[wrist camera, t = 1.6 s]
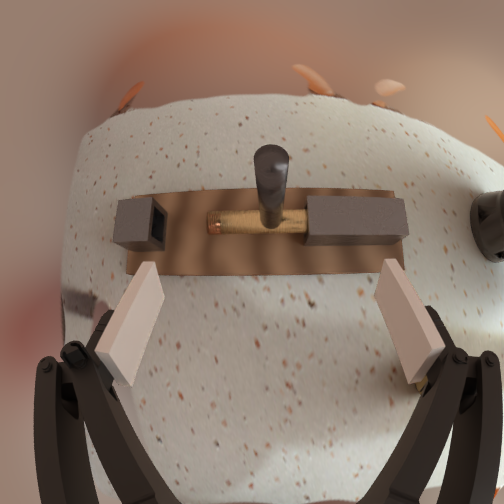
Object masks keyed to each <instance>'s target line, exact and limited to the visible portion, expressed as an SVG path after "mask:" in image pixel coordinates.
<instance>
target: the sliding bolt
mask: <svg viewBox="0 0 504 504" xmlns="http://www.w3.org/2000/svg"><path fill="white" fill-rule="evenodd" d="M288 164H289V156H288V153H287V152H286V151H285V150H284V149H283V148H282V147H280V146H278V145H265V146H262V147H261V148H259V149H258V150H257V151H256V153H255V155H254V166H255V175H256V184H257V193H258V203H259V210H237V211H208V212H207V217H206V228H207V233H208V235H222V234H277V233H308V231H309V230H308V214H307V209H295V210H283V207H284V199H285V190H286V182H287V173H288Z"/></svg>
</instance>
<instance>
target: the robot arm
mask: <svg viewBox="0 0 504 504" xmlns="http://www.w3.org/2000/svg"><path fill="white" fill-rule="evenodd" d="M470 218H471V227H472V231H473V235H474V238H475V241H476V243H477V245H478V247H479V249H480V250H481V252H482V253H483V254H484V256H485V257H486V258H488V259H489V260H490V261H492V262H501V261H504V190H503V191H495V192H487V193H484V194H482V195H480V196H479V197H477V198H476V199H475V200H474V202H473V204H472V207H471V215H470ZM374 296H375V299H376V301H377V303H378V306H379V308H380V310H381V313H382V315H383V318H384V320H385V322H386V325H387V327H388V330H389V332H390V335H391V338H392V340H393V343H394V345H395V348H396V351H397V353H398V356H399V359H400V362H401V365H402V367H403V370H404V373H405V376H406V379H407V382H408V384H412V383H416V382H420V381H421V380H422V379H423V378H424V376H425V375H426V376H427V379H428V381H427V382H426V383H425V385H424V386H423V387H422V388H421V390H420V391H419V392H422V394H421V396H420V398H419V401H418V403H417V405H416V408H415V410H414V412H413V414H412V416H411V418H410V420H409V423H408V425H407V427H406V429H405V431H404V432H403V434H402V436H401V438H400V440H399V442H398V444H397V446H396V447H395V449H394V451H393V453H392V454H391V456H390V458H389V459H388V461H387V463H386V464H385V466H384V468H383V469H382V471H381V472H380V474H379V475H378V477H377V479H376V480H375V481H374V483H373V484H372V486H371V487H370V489H369V490H368V492H367V493H366V494H365V496H364V497H363V498H362V499H361V500H360V501H358V502H357V503H356V504H420V503H419V498H420V496H421V494H422V492H423V491H424V489H425V487H426V485H427V483H428V481H429V479H430V477H431V475H432V473H433V471H434V469H435V467H436V465H437V463H438V460H439V458H440V456H441V453H442V451H443V449H444V446H445V444H446V441H447V439H448V436H449V433H450V431H451V428H452V425H453V431H452V438H451V444H450V450H449V456H448V461H447V466H446V470H445V475H444V479H443V483H442V486H441V490H440V494H439V497H438V500H437V504H492V502H493V498H494V494H495V489H496V484H497V478H498V472H499V465H500V456H501V445H502V427H503V402H502V383H501V371H500V362H499V359H498V357H497V355H496V354H495V353H493V352H492V351H484V352H483V353H482V354H481V356H480V357H473V356H468V354H467V353H466V352H465V351H464V350H463V349H461V348H457V347H455V345H454V343H453V341H452V339H451V337H450V335H449V333H448V331H447V329H446V327H445V326H444V324H443V322H442V321H441V318H440V317H439V315H438V313H437V312H436V311H435V310H434V309H433V308H432V307H431V306H424V305H423V303H422V301H421V299H420V298H419V296H418V294H417V292H416V291H415V289H414V287H413V286H412V284H411V282H410V281H409V279H408V277H407V276H406V274H405V273H404V271H403V269H402V268H401V266H400V265H399V263H398V262H397V260H396V259H384V262H383V266H382V270H381V273H380V277H379V280H378V284H377V287H376V291H375V294H374ZM164 299H165V296H164V293H163V290H162V286H161V283H160V279H159V276H158V272H157V269H156V265H155V262H142V264H141V265H140V267H139V269H138V270H137V272H136V274H135V276H134V277H133V279H132V281H131V282H130V284H129V286H128V288H127V289H126V291H125V293H124V295H123V297H122V298H121V300H120V302H119V304H118V306H117V307H116V309H115V310H108V311H107V312H106V313H105V314H104V315H103V316H102V317H101V319H100V321H99V323H98V325H97V326H96V328H95V331H94V332H93V334H92V336H91V338H90V340H89V341H88V343H87V345H86V347H84V345H83V344H82V343H81V342H79V341H71V342H69V343H67V344H66V345H65V346H64V347H63V348H62V350H61V353H60V357H61V358H62V360H63V361H64V362H59V363H58V362H57V361H56V359H55V358H54V357H51V356H47V357H45V358H43V359H42V360H40V362H39V363H38V366H37V371H36V381H35V395H34V396H35V397H34V450H35V461H36V462H35V463H36V472H37V480H38V487H39V493H40V498H41V503H42V504H99V501H98V498H97V494H96V490H95V485H94V481H93V477H92V472H91V467H90V462H89V456H88V450H87V443H86V436H85V428H84V421H85V424H86V427H87V430H88V432H89V435H90V438H91V440H92V443H93V445H94V447H95V450H96V452H97V455H98V457H99V459H100V461H101V463H102V466H103V468H104V470H105V472H106V474H107V476H108V478H109V480H110V482H111V484H112V486H113V488H114V490H115V491H116V493H117V495H118V497H119V499H120V500H121V502H122V504H182V503H181V502H179V501H178V499H177V498H176V497H175V496H174V494H173V493H172V491H171V490H170V489H169V487H168V486H167V484H166V483H165V481H164V480H163V478H162V477H161V475H160V474H159V472H158V471H157V469H156V468H155V466H154V464H153V463H152V461H151V459H150V458H149V456H148V454H147V453H146V451H145V449H144V448H143V446H142V444H141V442H140V441H139V439H138V437H137V435H136V433H135V431H134V429H133V427H132V425H131V423H130V421H129V420H128V417H127V415H126V414H125V411H124V409H123V407H122V405H121V403H120V400H119V398H118V396H117V394H116V391H115V389H114V387H113V386H112V382H113V380H114V379H115V381H116V382H117V383H118V385H122V386H127V387H132V386H133V383H134V380H135V377H136V374H137V371H138V368H139V365H140V362H141V359H142V357H143V354H144V351H145V348H146V346H147V343H148V340H149V337H150V335H151V332H152V329H153V327H154V324H155V322H156V319H157V316H158V314H159V311H160V309H161V306H162V304H163V301H164ZM453 422H454V423H453Z"/></svg>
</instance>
